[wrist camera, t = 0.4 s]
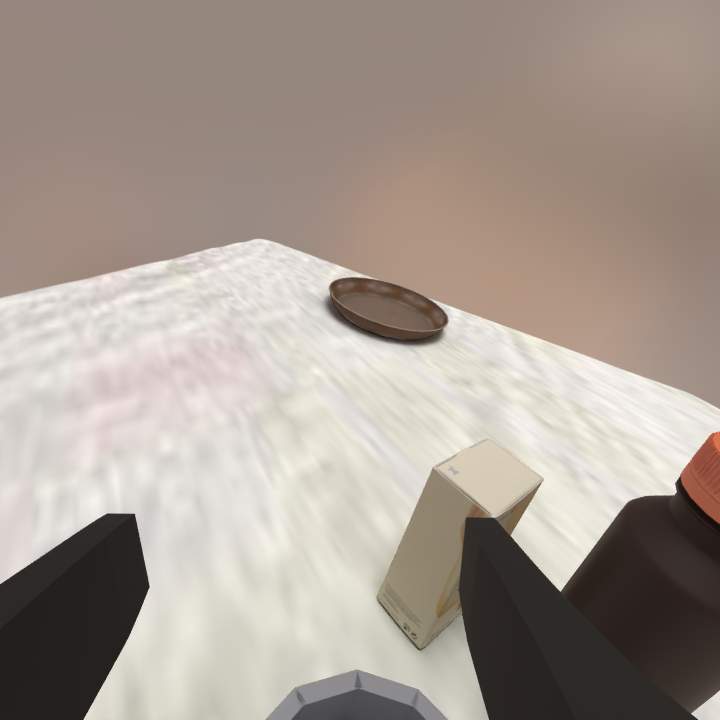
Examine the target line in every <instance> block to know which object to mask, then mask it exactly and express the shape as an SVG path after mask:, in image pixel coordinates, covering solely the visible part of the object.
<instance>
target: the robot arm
mask: <svg viewBox="0 0 720 720" xmlns="http://www.w3.org/2000/svg"><path fill="white" fill-rule="evenodd" d="M149 587H150V586H149V581H148V576H147V571H146V566H145V561H144V557H143V552H142V547H141V542H140V537H139V532H138V527H137V522H136V517H135V514H106V515H104V516H102V517H101V518H99V519H97V520H96V521H94V522H92V523H91V524H89V525H88V526H86V527H85V528H83V529H82V530H80V531H79V532H77V533H76V534H74V535H73V536H71V537H70V538H68V539H67V540H65V541H64V542H62V543H61V544H59V545H58V546H56V547H55V548H53V549H52V550H51V551H49V552H48V553H46V554H45V555H43V556H42V557H40V558H39V559H37V560H36V561H34V562H33V563H31V564H30V565H28V566H27V567H25V568H24V569H22V570H21V571H19V572H18V573H16V574H15V575H13V576H12V577H10V578H9V579H7V580H6V581H4V582H3V583H1V584H0V720H83V719H84V717H85V716H86V714H87V712H88V710H89V708H90V707H91V705H92V703H93V701H94V699H95V698H96V696H97V694H98V692H99V691H100V689H101V687H102V685H103V683H104V682H105V680H106V678H107V676H108V674H109V672H110V671H111V669H112V667H113V665H114V663H115V661H116V660H117V658H118V656H119V654H120V652H121V651H122V649H123V647H124V645H125V643H126V641H127V639H128V637H129V635H130V633H131V631H132V628H133V626H134V624H135V621H136V619H137V617H138V615H139V612H140V610H141V607H142V605H143V602H144V600H145V597H146V594H147V592H148V589H149ZM459 596H460V602H461V608H462V614H463V620H464V626H465V631H466V637H467V642H468V646H469V649H470V653H471V657H472V660H473V664H474V667H475V671H476V675H477V678H478V682H479V685H480V689H481V692H482V696H483V700H484V703H485V707H486V710H487V714H488V717H489V720H698V719H697V718H695V717H694V716H693V715H692V714H690V713H689V712H688V711H687V710H686V709H684V708H683V707H682V706H681V705H680V704H678V703H677V702H676V701H675V700H674V699H673V698H671V697H670V696H669V695H668V694H667V693H666V692H665V691H663V690H662V689H661V688H660V687H659V686H658V685H656V684H655V683H654V682H653V681H652V680H651V679H650V678H648V677H647V676H646V675H645V674H644V673H643V672H642V671H640V670H639V669H638V668H637V667H636V666H635V665H634V664H633V663H631V662H630V661H629V660H628V659H627V658H626V657H625V656H624V655H623V654H622V653H621V652H619V651H618V650H617V649H616V648H615V647H614V646H613V645H612V644H611V643H610V642H609V641H608V640H607V639H606V638H605V637H604V636H603V635H602V634H601V633H600V632H599V631H598V630H597V629H596V628H595V627H594V626H593V625H592V624H591V623H590V622H589V621H588V620H587V619H586V618H585V617H584V616H583V615H582V614H581V613H580V612H579V611H578V610H577V609H576V608H575V607H574V606H573V605H572V604H571V603H570V602H569V601H568V600H567V599H566V597H565V596H564V595H563V594H562V593H561V592H560V591H559V590H558V589H557V588H556V587H555V586H554V585H553V584H552V583H551V581H550V580H549V579H548V578H547V577H546V576H545V575H544V574H543V573H542V572H541V570H540V569H539V568H538V567H537V566H536V565H535V564H534V563H533V561H532V560H531V559H530V558H529V557H528V556H527V555H526V553H525V552H524V551H523V550H522V549H521V548H520V547H519V545H518V544H517V543H516V542H515V541H514V540H513V538H512V537H511V536H510V535H509V534H508V533H507V531H506V530H505V529H504V528H503V527H502V526H501V524H500V523H499V522H498V521H497V520H496V519H495V518H480V517H466V521H465V531H464V541H463V551H462V561H461V571H460V581H459Z"/></svg>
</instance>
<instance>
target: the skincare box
mask: <svg viewBox="0 0 720 720" xmlns="http://www.w3.org/2000/svg"><path fill="white" fill-rule="evenodd" d="M543 480H544V478H543V477H542V476H540V475H539V474H537V473H536V472H535V471H533V470H532V469H531V468H529V467H528V466H527V465H525V464H524V463H522V462H521V461H520V460H519V459H517V458H516V457H515V456H513V455H512V454H511V453H509V452H508V451H507V450H505V449H504V448H503V447H501V446H500V445H499V444H497V443H496V442H495V441H493V440H492V439H490V438H486V439H484V440H482V441H480V442H478V443H476V444H474V445H472V446H471V447H468V448H466V449H464V450H462V451H460V452H459V453H457V454H456V455H454V456H452V457H450V458H448V459H446V460H445V461H443V462H441V463H439V464H437V465H435V466H434V467H433V468H432V471H431V473H430V476H429V478H428V480H427V482H426V485H425V487H424V489H423V492H422V494H421V496H420V499H419V501H418V503H417V506H416V508H415V510H414V512H413V515H412V517H411V519H410V522H409V524H408V526H407V529H406V531H405V533H404V536H403V538H402V540H401V543H400V545H399V547H398V550H397V552H396V554H395V557H394V559H393V561H392V564H391V566H390V568H389V570H388V573H387V575H386V577H385V579H384V582H383V584H382V586H381V589H380V591H379V593H378V596H377V598H378V600H379V601H380V602H381V603H382V605H383V606H384V607H385V608H386V610H387V611H388V612H389V613H390V615H391V616H392V617H393V618H394V620H395V621H396V622H397V623H398V625H399V626H400V627H401V628H402V629H403V631H404V632H405V633H406V634H407V635H408V636H409V638H410V639H411V640H412V641H413V642H414V643H415V644H416V645H417V647H418V648H420V649H422V648H424V647H425V646H426V645H427V644H428V643H429V642H431V641H432V640H433V639H434V638H435V637H436V636H437V635H439V634H440V633H441V632H442V631H443V630H444V629H445V628H446V627H447V626H448V625H449V624H450V623H451V622H452V621H453V620H454V619H455V618H456V617H457V616H458V615H459V614H460V613H461V612H462V608H461V602H460V596H459V581H460V571H461V561H462V551H463V541H464V531H465V521H466V517H480V518H495V519H496V520H497V521H498V522H499V523H500V524H501V526H502V527H503V528H504V529H505V530H506V531H507V533H508V534H509V535H511V534H512V532H513V530H514V528H515V527H516V525H517V523H518V522H519V520H520V518H521V517H522V515H523V513H524V512H525V510H526V508H527V507H528V505H529V503H530V502H531V500H532V498H533V497H534V495H535V493H536V492H537V490H538V488H539V486H540V485H541V483H542V482H543Z"/></svg>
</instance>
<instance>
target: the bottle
mask: <svg viewBox="0 0 720 720" xmlns="http://www.w3.org/2000/svg"><path fill="white" fill-rule="evenodd" d="M675 485H676V490H677V493H676V494H675V495H671V496H644V497H641V498H637V499H633V500H631V501H629V502H628V503H627V504H626V505H625V506H624V508H623V509H622V510H621V511H620V513H619V514H618V515H617V517H616V518H615V519H614V521H613V522H612V523H611V525H610V526H609V527H608V529H607V530H606V532H605V533H604V534H603V536H602V537H601V538H600V540H599V541H598V542H597V544H596V545H595V546H594V548H593V549H592V550H591V552H590V553H589V554H588V556H587V557H586V558H585V560H584V561H583V562H582V564H581V565H580V566H579V568H578V569H577V570H576V572H575V573H574V574H573V576H572V577H571V579H570V580H569V581H568V583H567V584H566V585H565V587H564V588H563V589H562V591H561V593H562V594H563V595H564V596H565V597H566V599H567V600H568V601H569V602H570V603H571V604H572V605H573V606H574V607H575V608H576V609H577V610H578V611H579V612H580V613H581V614H582V615H583V616H584V617H585V618H586V619H587V620H588V621H589V622H590V623H591V624H592V625H593V626H594V627H595V628H596V629H597V630H598V631H599V632H600V633H601V634H602V635H603V636H604V637H605V638H606V639H607V640H608V641H609V642H610V643H611V644H612V645H613V646H614V647H615V648H616V649H617V650H618V651H619V652H621V653H622V654H623V655H624V656H625V657H626V658H627V659H628V660H629V661H630V662H631V663H633V664H634V665H635V666H636V667H637V668H638V669H639V670H640V671H642V672H643V673H644V674H645V675H646V676H647V677H648V678H650V679H651V680H652V681H653V682H654V683H655V684H656V685H658V686H659V687H660V688H661V689H662V690H663V691H665V692H666V693H667V694H668V695H669V696H670V697H671V698H673V699H674V700H675V701H676V702H677V703H678V704H680V705H681V706H682V707H683V708H684V709H686V710H687V711H688V712H689V713H690V714H691V713H692V712H693V711H695V710H696V709H697V708H698V707H700V706H701V705H702V704H703V703H705V702H706V701H707V700H708V699H710V698H711V697H712V696H713V695H715V694H716V693H717V692H718V691H720V432H719V433H718V432H716V433H712V434H711V435H710V436H709V438H708V439H707V440H706V441H705V443H704V444H703V445H702V446H701V448H700V449H699V450H698V452H697V453H696V454H695V455H694V457H693V458H692V460H691V461H690V462H689V463H688V465H687V466H686V467H685V468H684V470H683V471H682V473H681V475H680V477H679V479H678V480H677V482H676V483H675Z"/></svg>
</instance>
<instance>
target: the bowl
mask: <svg viewBox="0 0 720 720" xmlns="http://www.w3.org/2000/svg"><path fill="white" fill-rule="evenodd" d="M266 720H448V719H447V718H446V717H445V716H444V715H443V714H442V713H441V712H440V711H439V710H438V709H437V708H436V707H435V706H434V705H433V704H432V703H431V702H430V701H429V700H428V699H427V698H426V697H425V696H424V695H423V694H422V693H421V692H420V691H419V690H418V689H415V688H412V687H409V686H406V685H403V684H400V683H397V682H394V681H391V680H388V679H385V678H382V677H378V676H375V675H372V674H369V673H366V672H363V671H360V670H354V671H351V672H347V673H344V674H340V675H337V676H333V677H330V678H326V679H323V680H319V681H316V682H312V683H309V684H305V685H302V686H298V687H295V688H294V689H293V690H292V691H291V693H290V694H289V695H288V696H287V697H286V698H285V699H284V700H283V701H282V702H281V703H280V705H279V706H278V707H277V708H276V709H275V710H274V711H273V712H272V713H271V714H270V715H269V716H268V718H267V719H266Z"/></svg>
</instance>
